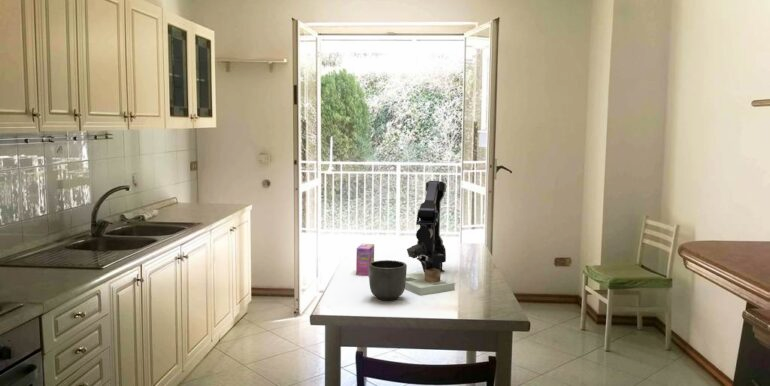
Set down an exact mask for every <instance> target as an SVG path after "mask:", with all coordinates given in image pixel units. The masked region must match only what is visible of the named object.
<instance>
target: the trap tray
mask: <svg viewBox="0 0 770 386" xmlns="http://www.w3.org/2000/svg"><path fill="white" fill-rule="evenodd" d="M455 286H456V283H455V282H448V283H447V282H446V280H443V279H440V282H433V283H430V282H427V281H425V274H424V272H421V271H416V272H415V271H414V272H408V273H407V272H406V284H405V290H407V291H409V292H411V293H413V294H416V295H419V296H425V295H431V294H437V293H444V292H451V291H455V290H456V289H455V288H456V287H455Z"/></svg>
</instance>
